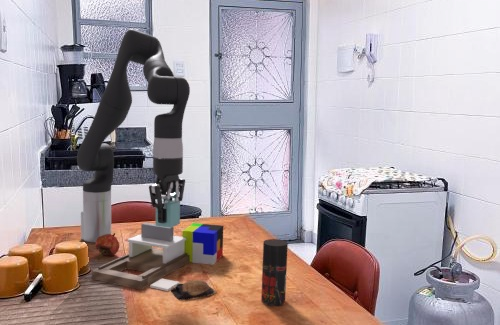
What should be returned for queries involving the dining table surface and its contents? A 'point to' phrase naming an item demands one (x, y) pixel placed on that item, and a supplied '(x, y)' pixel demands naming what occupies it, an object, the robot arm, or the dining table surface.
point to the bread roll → (192, 290)
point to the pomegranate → (107, 245)
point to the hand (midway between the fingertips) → (167, 220)
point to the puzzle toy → (203, 243)
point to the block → (170, 214)
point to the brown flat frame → (139, 268)
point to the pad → (164, 284)
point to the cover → (157, 241)
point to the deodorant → (274, 272)
